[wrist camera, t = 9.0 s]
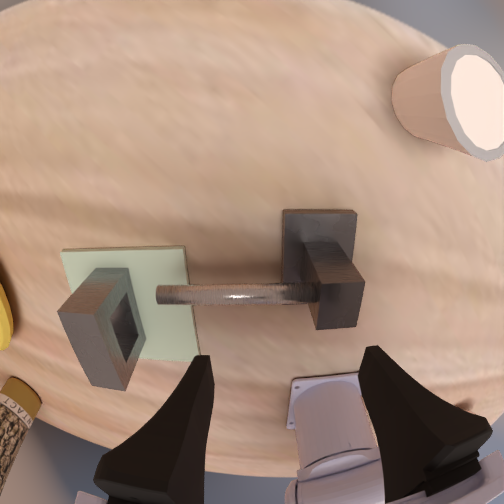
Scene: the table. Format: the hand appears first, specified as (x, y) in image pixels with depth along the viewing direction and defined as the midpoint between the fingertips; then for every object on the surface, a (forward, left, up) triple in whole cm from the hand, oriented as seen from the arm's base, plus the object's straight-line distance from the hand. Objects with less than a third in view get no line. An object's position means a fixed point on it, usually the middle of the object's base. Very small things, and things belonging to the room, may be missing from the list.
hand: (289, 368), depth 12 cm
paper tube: (-21, +37, -10) cm, 44 cm away
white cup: (+13, -11, -10) cm, 20 cm away
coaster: (-3, +12, -10) cm, 16 cm away
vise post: (+1, +1, -10) cm, 10 cm away
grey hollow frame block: (-3, +12, -10) cm, 16 cm away
